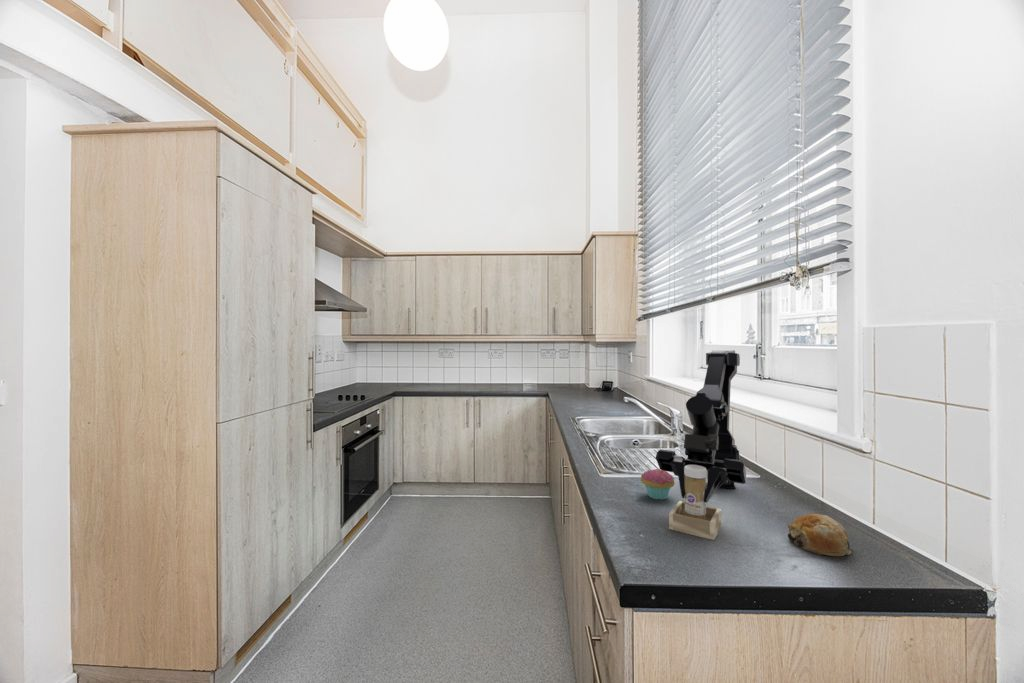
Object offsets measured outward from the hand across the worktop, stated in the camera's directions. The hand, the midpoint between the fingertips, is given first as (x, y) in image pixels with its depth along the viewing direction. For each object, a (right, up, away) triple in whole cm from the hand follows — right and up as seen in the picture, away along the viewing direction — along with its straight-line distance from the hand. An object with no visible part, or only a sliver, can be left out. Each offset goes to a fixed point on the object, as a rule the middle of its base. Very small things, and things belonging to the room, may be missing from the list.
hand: (693, 499), depth 94 cm
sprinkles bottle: (+1, -7, +1) cm, 7 cm away
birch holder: (+1, -7, +1) cm, 7 cm away
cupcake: (-1, -7, +20) cm, 21 cm away
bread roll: (+22, -7, -8) cm, 24 cm away
